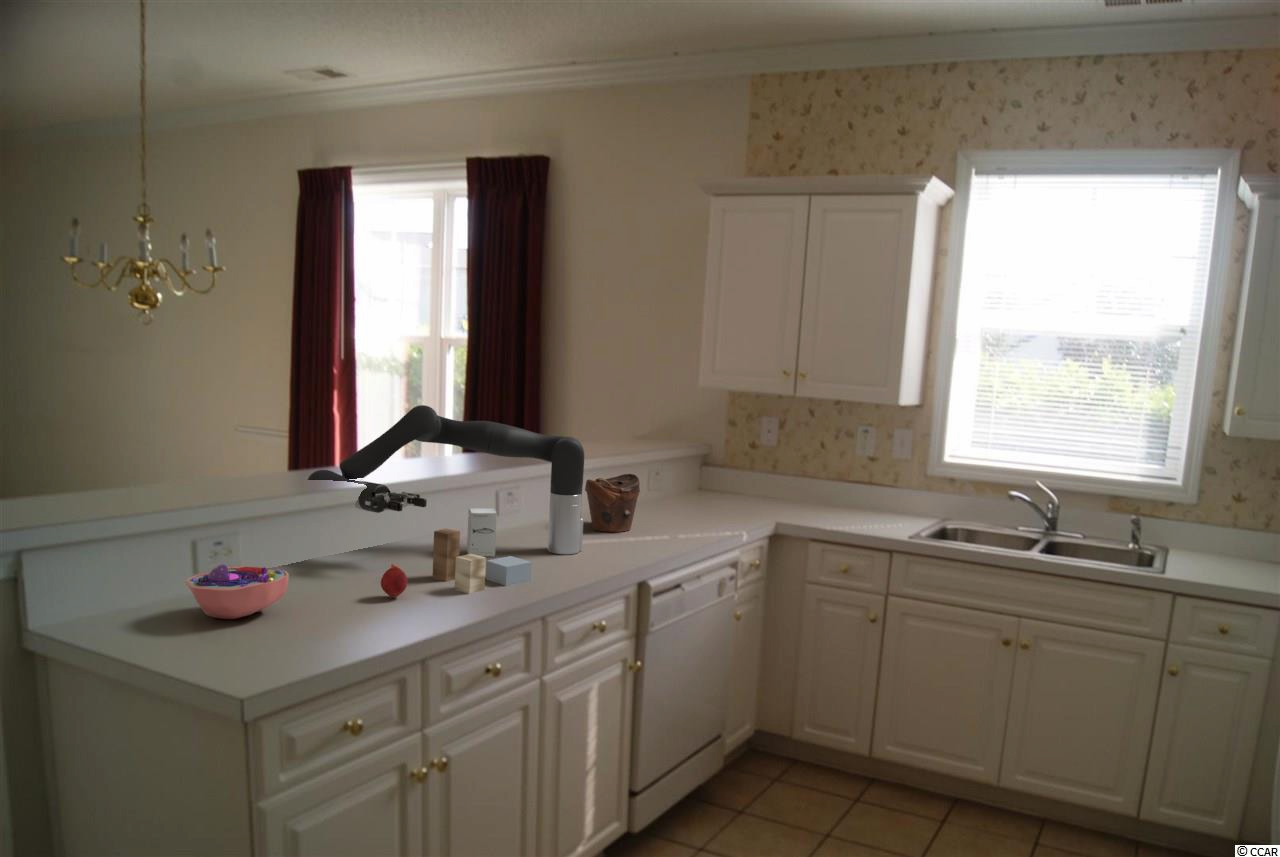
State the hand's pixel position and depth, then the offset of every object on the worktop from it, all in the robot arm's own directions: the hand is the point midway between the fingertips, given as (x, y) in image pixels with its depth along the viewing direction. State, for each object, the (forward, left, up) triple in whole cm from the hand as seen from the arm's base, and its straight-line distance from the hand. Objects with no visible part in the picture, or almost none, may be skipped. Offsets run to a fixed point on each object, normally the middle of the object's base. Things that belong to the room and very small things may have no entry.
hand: (413, 505), depth 224 cm
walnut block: (-3, +11, -17) cm, 20 cm away
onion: (+16, +19, -17) cm, 30 cm away
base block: (-15, +21, -17) cm, 31 cm away
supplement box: (-25, -5, -17) cm, 31 cm away
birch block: (-2, +23, -17) cm, 29 cm away
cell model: (+48, +12, -17) cm, 52 cm away
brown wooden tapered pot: (-81, -11, -17) cm, 84 cm away
